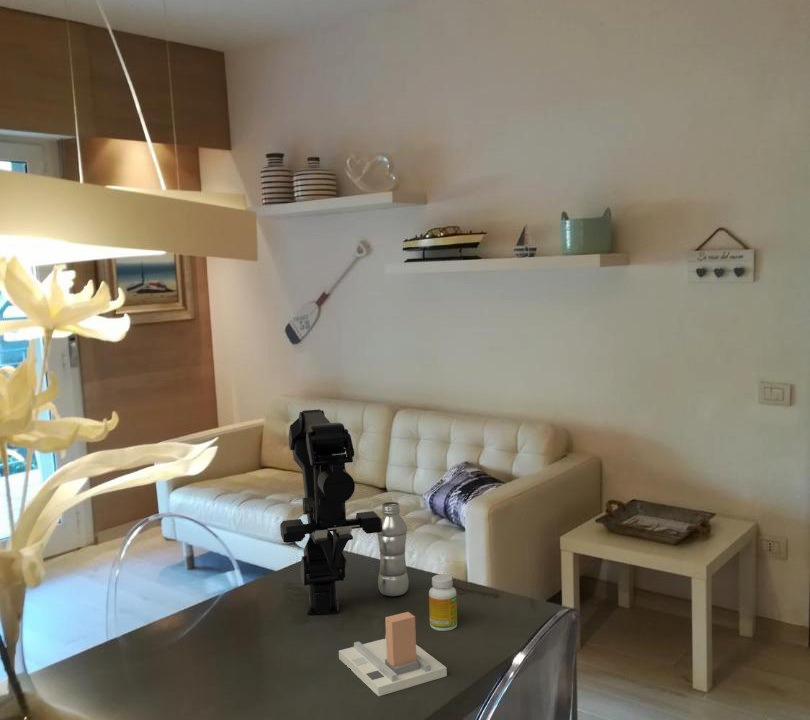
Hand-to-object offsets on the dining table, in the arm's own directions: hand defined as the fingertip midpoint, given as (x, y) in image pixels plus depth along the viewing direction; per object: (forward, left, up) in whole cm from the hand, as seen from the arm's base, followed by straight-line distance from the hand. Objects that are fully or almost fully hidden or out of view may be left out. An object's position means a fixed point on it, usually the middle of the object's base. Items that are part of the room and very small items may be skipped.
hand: (333, 570), depth 155 cm
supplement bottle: (-2, +21, -13) cm, 25 cm away
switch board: (+14, +10, -13) cm, 22 cm away
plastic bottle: (-20, +12, -13) cm, 27 cm away
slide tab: (+18, +12, -11) cm, 24 cm away
